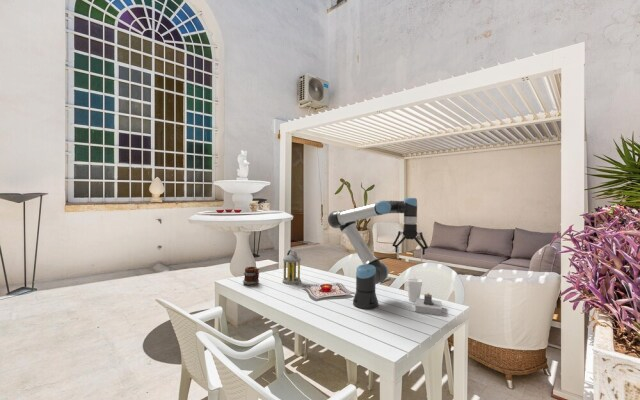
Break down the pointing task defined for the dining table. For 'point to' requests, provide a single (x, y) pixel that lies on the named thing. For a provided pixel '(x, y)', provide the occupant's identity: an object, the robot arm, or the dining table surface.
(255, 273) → the mug
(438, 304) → the socket plate
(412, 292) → the foam cup
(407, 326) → the dining table surface
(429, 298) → the plug
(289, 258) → the lantern
